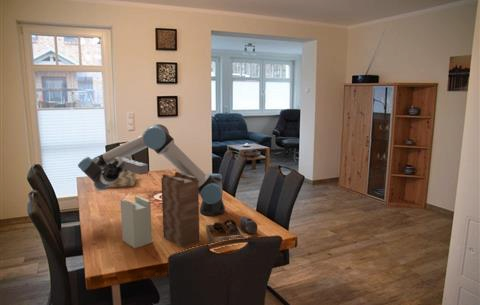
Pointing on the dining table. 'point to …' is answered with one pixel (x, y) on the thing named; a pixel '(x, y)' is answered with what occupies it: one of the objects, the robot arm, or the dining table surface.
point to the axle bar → (133, 166)
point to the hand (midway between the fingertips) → (126, 158)
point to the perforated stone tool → (248, 225)
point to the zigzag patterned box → (124, 179)
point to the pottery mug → (225, 227)
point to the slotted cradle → (136, 222)
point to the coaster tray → (217, 239)
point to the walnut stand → (180, 208)
